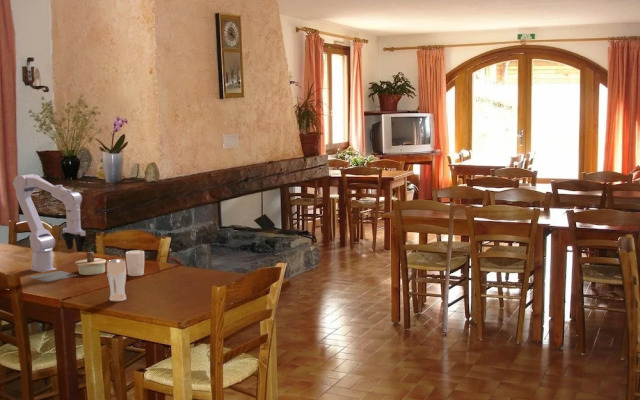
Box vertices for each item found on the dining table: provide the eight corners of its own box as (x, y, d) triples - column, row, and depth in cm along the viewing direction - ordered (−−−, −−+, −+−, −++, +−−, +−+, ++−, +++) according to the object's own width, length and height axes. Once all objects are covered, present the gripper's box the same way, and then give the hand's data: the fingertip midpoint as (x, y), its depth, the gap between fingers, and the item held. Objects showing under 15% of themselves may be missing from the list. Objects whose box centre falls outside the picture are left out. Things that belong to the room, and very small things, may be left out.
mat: (28, 278, 308) (28, 277, 307) (59, 272, 319) (59, 270, 319) (47, 283, 298) (47, 282, 298) (79, 276, 310) (78, 275, 310)
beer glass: (110, 297, 275) (108, 259, 273) (128, 296, 275) (127, 258, 274) (106, 302, 268) (104, 262, 266) (125, 301, 269) (123, 262, 267)
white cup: (140, 276, 308) (139, 254, 307) (123, 276, 310) (122, 253, 309) (148, 272, 316) (147, 250, 315) (131, 272, 318) (130, 250, 316)
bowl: (74, 273, 316) (73, 263, 315) (95, 269, 324) (95, 259, 324) (88, 277, 309) (87, 266, 308) (110, 272, 317) (109, 262, 317)
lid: (69, 263, 315) (68, 253, 314) (95, 258, 325) (94, 248, 324) (86, 267, 306) (85, 256, 306) (112, 262, 316) (111, 251, 316)
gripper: (56, 219, 315) (57, 249, 317) (74, 222, 306) (76, 253, 308) (70, 217, 321) (71, 247, 322) (89, 220, 312) (90, 251, 313)
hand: (74, 250), depth 315 cm, fingers open, 7 cm apart
